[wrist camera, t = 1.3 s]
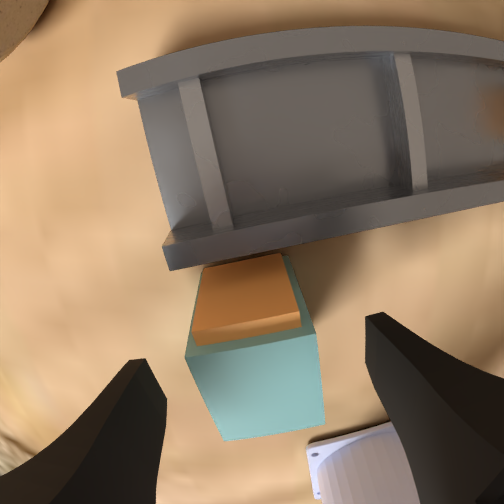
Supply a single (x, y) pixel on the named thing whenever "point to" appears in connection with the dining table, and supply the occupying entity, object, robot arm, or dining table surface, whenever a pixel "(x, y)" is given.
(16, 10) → the ceramic mug
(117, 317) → the dining table surface
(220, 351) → the teal and orange block
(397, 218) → the rail
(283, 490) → the dining table surface
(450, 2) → the dining table surface
